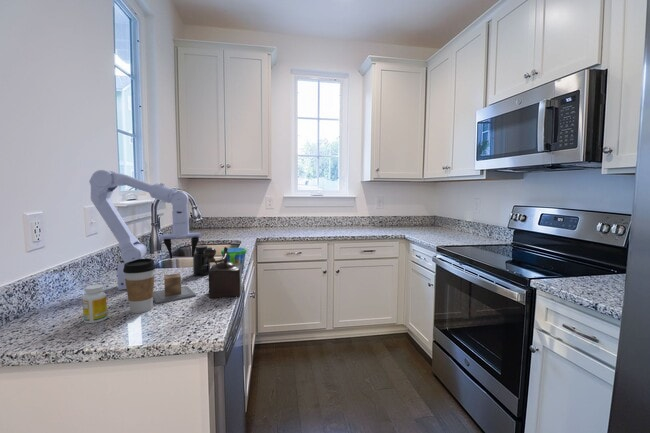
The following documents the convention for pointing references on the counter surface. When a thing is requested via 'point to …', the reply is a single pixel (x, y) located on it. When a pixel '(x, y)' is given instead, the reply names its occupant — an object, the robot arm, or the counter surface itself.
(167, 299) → the coaster
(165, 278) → the block
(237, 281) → the manual coffee grinder
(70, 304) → the counter surface
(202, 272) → the supplement bottle
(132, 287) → the coffee cup
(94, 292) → the supplement bottle
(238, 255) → the snack cup
